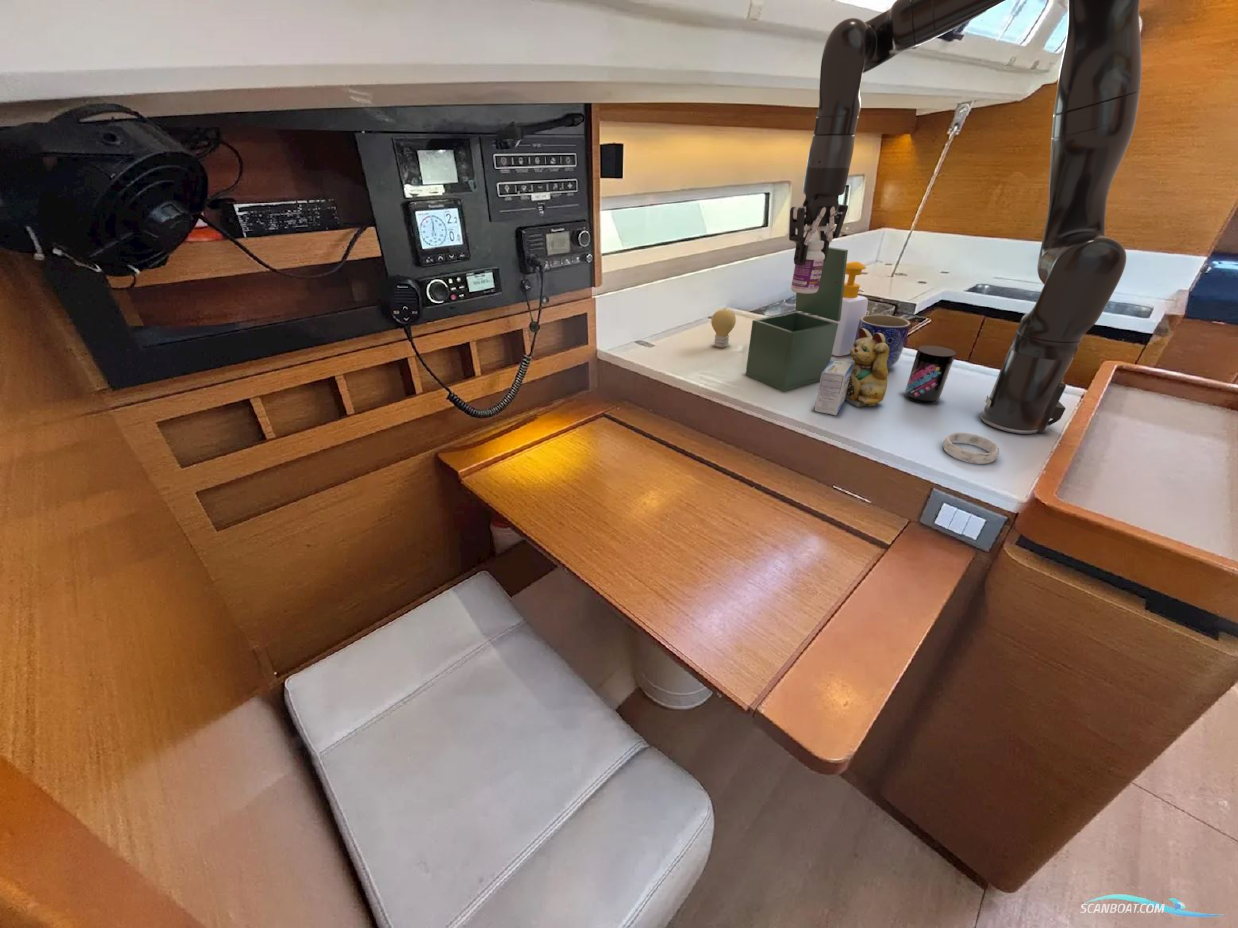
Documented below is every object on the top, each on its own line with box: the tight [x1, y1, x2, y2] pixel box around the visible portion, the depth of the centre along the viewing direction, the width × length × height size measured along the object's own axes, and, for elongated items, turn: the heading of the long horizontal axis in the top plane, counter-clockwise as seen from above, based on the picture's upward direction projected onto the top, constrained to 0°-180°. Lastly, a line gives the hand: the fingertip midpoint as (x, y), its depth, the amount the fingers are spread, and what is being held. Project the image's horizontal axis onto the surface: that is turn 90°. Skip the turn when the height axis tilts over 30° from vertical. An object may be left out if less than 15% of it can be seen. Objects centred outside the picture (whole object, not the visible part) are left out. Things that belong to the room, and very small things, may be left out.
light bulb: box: [710, 308, 737, 349], centre depth 134 cm, size 6×6×10 cm
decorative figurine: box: [845, 328, 889, 408], centre depth 101 cm, size 10×8×15 cm
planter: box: [854, 314, 911, 370], centre depth 120 cm, size 11×11×11 cm
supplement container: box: [904, 345, 957, 405], centre depth 103 cm, size 7×7×10 cm
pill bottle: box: [790, 239, 825, 294], centre depth 100 cm, size 5×5×10 cm
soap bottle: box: [819, 261, 869, 357], centre depth 129 cm, size 10×14×22 cm
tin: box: [745, 310, 838, 392], centre depth 114 cm, size 14×12×13 cm
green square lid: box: [794, 246, 849, 321], centre depth 109 cm, size 15×12×1 cm
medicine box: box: [814, 359, 853, 416], centre depth 101 cm, size 8×4×9 cm, turn 148°
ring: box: [942, 432, 1000, 465], centre depth 86 cm, size 8×8×2 cm
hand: (809, 263), depth 100 cm, fingers closed on pill bottle, 5 cm apart
